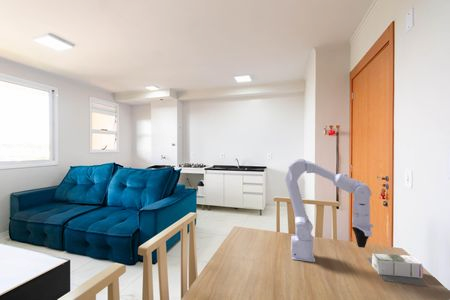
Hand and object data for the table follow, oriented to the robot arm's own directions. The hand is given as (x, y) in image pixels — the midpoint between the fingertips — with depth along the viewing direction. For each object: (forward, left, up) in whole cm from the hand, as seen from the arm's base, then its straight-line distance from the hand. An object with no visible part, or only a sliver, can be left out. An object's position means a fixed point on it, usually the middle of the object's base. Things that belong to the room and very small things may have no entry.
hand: (361, 246), depth 83 cm
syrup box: (+5, 0, -6) cm, 8 cm away
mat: (+12, +2, -9) cm, 15 cm away
